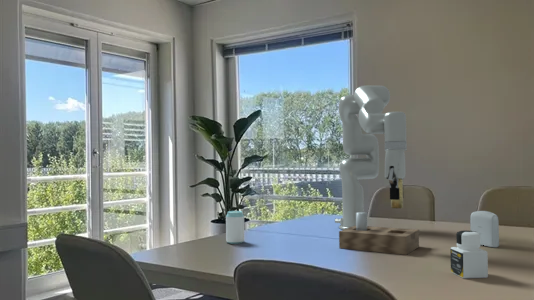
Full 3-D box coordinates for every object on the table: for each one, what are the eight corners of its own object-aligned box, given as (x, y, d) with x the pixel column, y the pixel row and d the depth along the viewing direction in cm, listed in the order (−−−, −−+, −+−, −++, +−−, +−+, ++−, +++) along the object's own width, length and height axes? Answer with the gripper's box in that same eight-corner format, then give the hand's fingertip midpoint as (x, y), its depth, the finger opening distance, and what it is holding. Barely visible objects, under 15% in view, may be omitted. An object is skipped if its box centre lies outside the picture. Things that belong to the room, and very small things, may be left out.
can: (247, 241, 186) (247, 210, 186) (239, 244, 179) (238, 212, 180) (231, 240, 189) (231, 210, 189) (222, 243, 182) (222, 212, 183)
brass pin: (389, 208, 166) (389, 179, 166) (393, 207, 169) (392, 179, 170) (401, 208, 164) (400, 179, 164) (404, 207, 167) (403, 179, 167)
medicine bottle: (450, 272, 134) (449, 229, 134) (474, 271, 134) (473, 228, 134) (462, 278, 126) (462, 233, 127) (488, 277, 127) (487, 233, 127)
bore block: (339, 248, 170) (339, 231, 170) (355, 240, 183) (355, 225, 183) (406, 254, 157) (406, 236, 157) (419, 246, 171) (418, 229, 171)
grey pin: (354, 240, 173) (354, 213, 173) (358, 238, 176) (358, 212, 177) (365, 241, 171) (364, 213, 171) (369, 239, 174) (368, 212, 174)
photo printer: (468, 243, 175) (468, 210, 175) (476, 242, 177) (476, 209, 177) (492, 248, 166) (492, 212, 166) (501, 247, 168) (500, 212, 168)
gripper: (392, 147, 176) (393, 197, 176) (377, 146, 162) (378, 200, 162) (412, 147, 172) (413, 197, 172) (399, 146, 158) (400, 201, 158)
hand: (396, 198), depth 167 cm, fingers closed on brass pin, 4 cm apart
